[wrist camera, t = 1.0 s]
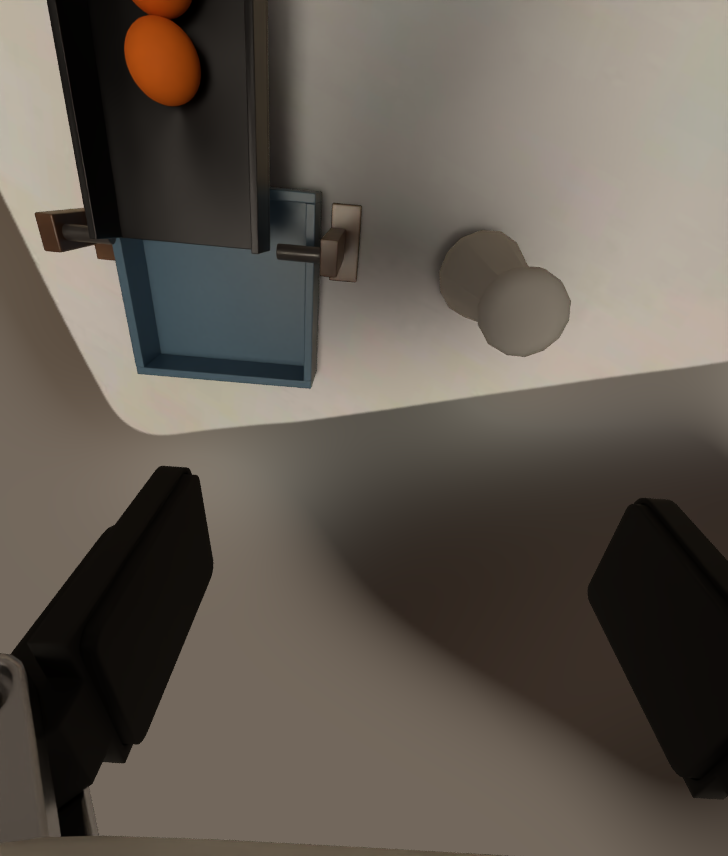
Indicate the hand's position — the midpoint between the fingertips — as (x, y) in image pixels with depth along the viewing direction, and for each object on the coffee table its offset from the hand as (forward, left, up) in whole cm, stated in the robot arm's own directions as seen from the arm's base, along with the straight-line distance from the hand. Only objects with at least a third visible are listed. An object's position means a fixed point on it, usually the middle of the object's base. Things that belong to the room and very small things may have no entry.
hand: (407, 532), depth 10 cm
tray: (+1, -12, -26) cm, 28 cm away
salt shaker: (-2, +6, -26) cm, 27 cm away
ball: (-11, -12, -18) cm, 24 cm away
